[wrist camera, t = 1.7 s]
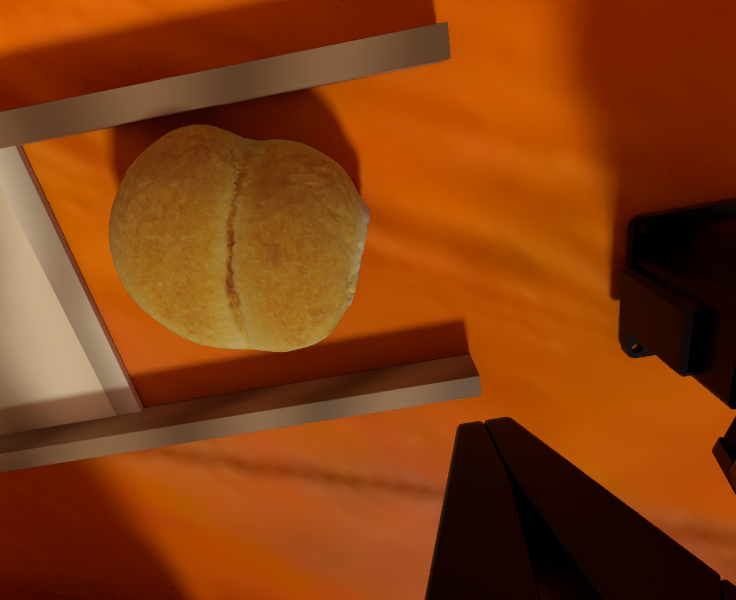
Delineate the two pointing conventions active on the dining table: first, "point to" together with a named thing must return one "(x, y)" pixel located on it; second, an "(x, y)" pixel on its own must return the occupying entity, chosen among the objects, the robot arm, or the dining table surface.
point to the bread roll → (238, 239)
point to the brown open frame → (84, 323)
